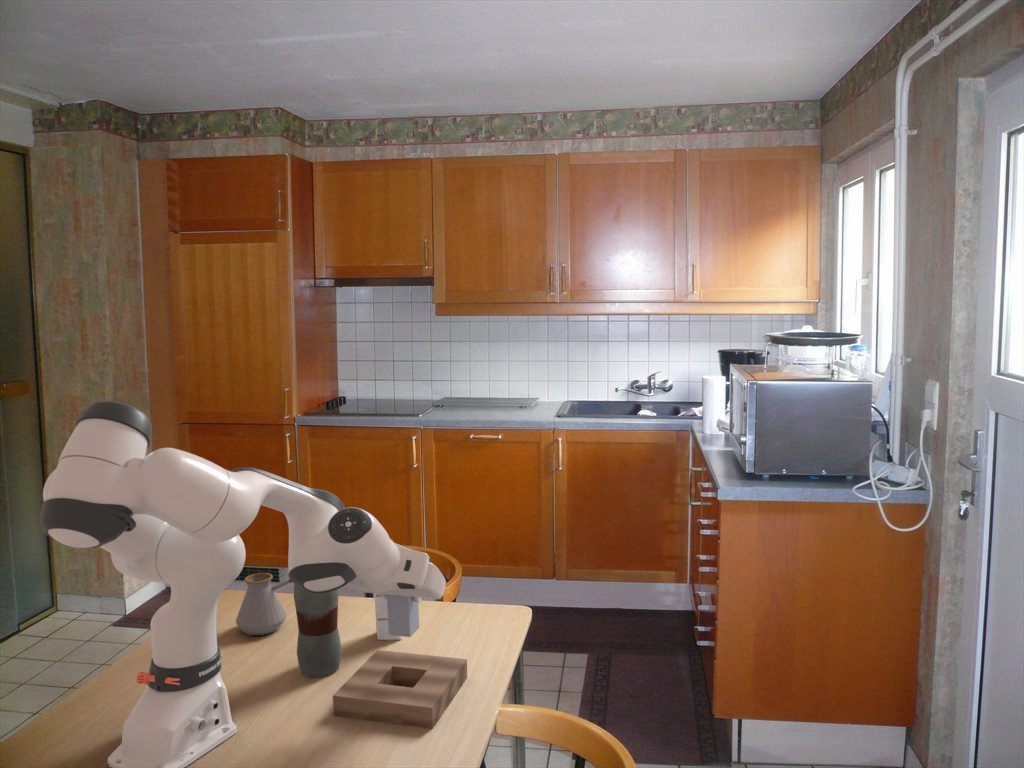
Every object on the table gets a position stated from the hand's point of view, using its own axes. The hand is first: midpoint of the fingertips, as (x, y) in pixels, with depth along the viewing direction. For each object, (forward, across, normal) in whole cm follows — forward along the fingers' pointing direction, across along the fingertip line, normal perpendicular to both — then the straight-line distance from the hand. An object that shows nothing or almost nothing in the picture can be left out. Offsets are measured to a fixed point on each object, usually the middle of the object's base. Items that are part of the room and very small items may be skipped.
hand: (404, 597), depth 161 cm
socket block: (+14, -1, -15) cm, 20 cm away
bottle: (+19, -23, -10) cm, 31 cm away
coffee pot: (+31, -42, +2) cm, 52 cm away
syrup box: (+32, -15, +3) cm, 36 cm away
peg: (+4, 0, -5) cm, 7 cm away
